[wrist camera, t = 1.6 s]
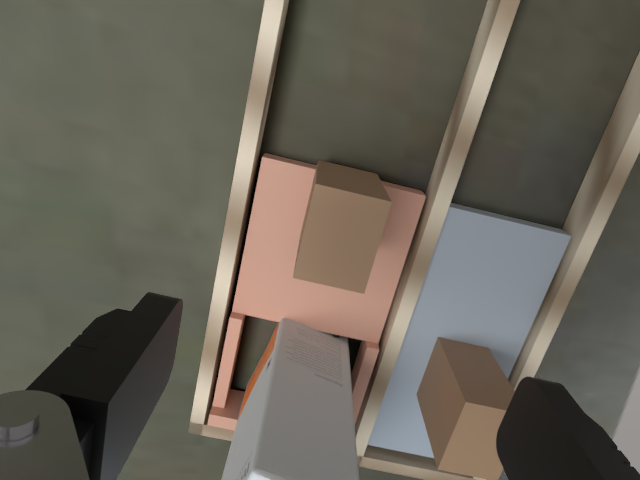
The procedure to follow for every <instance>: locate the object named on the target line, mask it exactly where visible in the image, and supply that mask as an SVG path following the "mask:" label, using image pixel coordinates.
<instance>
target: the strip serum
mask: <svg viewBox="0 0 640 480" xmlns="http://www.w3.org/2000/svg"><path fill="white" fill-rule="evenodd" d="M425 198H426V195H425V194H424V193H423V192H422V191H421V190H417V189H413V188H409V187H405V186H401V185H396V184H392V183H388V182H384V181H381V180H380V179H379V177H378V175H377V174H375V173H371V172H367V171H363V170H359V169H355V168H351V167H346V166H342V165H338V164H334V163H330V162H326V161H322V160H318V162H317V165H313V164H309V163H305V162H301V161H297V160H293V159H288V158H284V157H280V156H276V155H272V154H268V153H265V154H264V155H263V156H262V160H261V165H260V170H259V175H258V181H257V186H256V191H255V196H254V201H253V206H252V211H251V216H250V221H249V227H248V232H247V237H246V242H245V247H244V252H243V257H242V262H241V267H240V272H239V278H238V283H237V288H236V293H235V298H234V303H233V308H232V313H231V315H230V318H229V323H228V328H227V333H226V338H225V343H224V348H223V354H222V359H221V364H220V369H219V374H218V379H217V384H216V390H215V395H214V400H213V405H212V408H211V411H210V414H209V419H208V424H207V425H208V426H213V427H218V428H223V429H228V430H233V431H235V428H236V424H237V420H238V417H239V413H240V409H241V405H242V402H243V398H244V395H245V392H244V391H239V390H234V389H230V388H231V383H232V378H233V373H234V368H235V364H236V359H237V354H238V349H239V344H240V340H241V335H242V330H243V325H244V320H245V315H248V316H253V317H257V318H262V319H267V320H271V321H276V322H280V321H281V319H282V318H287V319H290V320H292V321H295V322H297V323H300V324H303V325H305V326H308V327H310V328H313V329H315V330H317V331H322V332H326V333H331V334H336V335H340V336H345V337H349V338H354V339H359V340H361V344H360V347H359V350H358V353H357V357H356V360H355V363H354V366H353V370H352V373H351V385H352V398H353V411H354V423H356V420H357V417H358V414H359V411H360V408H361V405H362V402H363V398H364V395H365V392H366V389H367V386H368V383H369V380H370V377H371V374H372V371H373V368H374V365H375V362H376V359H377V356H378V353H379V345H378V343H379V340H380V337H381V334H382V331H383V328H384V325H385V322H386V318H387V315H388V312H389V309H390V306H391V303H392V300H393V297H394V294H395V291H396V288H397V285H398V281H399V278H400V275H401V272H402V269H403V266H404V263H405V260H406V257H407V254H408V251H409V248H410V244H411V241H412V238H413V235H414V232H415V229H416V226H417V223H418V220H419V217H420V214H421V211H422V207H423V204H424V201H425Z"/></svg>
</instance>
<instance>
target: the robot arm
mask: <svg viewBox="0 0 640 480" xmlns="http://www.w3.org/2000/svg"><path fill="white" fill-rule="evenodd" d="M182 308H183V301H182V299H178V298H173V297H169V296H164V295H160V294H155V293H151V292H148V293H147V294H146V295H145V296H144V297H143V298H142V299H141V301H140V302H139V303H138V304H137V305H136V306H135V307H134V309H133V310H132V311H127V310H122V309H118V308H117V309H115V310H113V311H111V312H109V313H106V314H104V315H102V316H100V317H98V318H96V319H95V320H94V321H93V322H92V323H91V324H90V325H89V326H88V327H87V328H86V329H85V330H84V331H83V333H82V335H79V336H78V337H77V338H76V339H75V340H74V341H73V342H72V343H71V346H70V347H67V348H66V349H65V350H64V351H63V352H62V353H61V354H60V355H59V356H58V357H57V358H56V359H55V360H54V361H53V362H52V363H51V364H50V365H49V366H48V367H47V368H46V370H45V371H44V372H43V373H42V374H41V375H40V376H39V377H38V378H37V379H36V380H35V381H34V382H33V383H32V384H31V385H30V386H29V387H28V388H27V389H26V390H23V391H14V392H9V393H4V394H1V395H0V480H116V479H117V477H118V475H119V473H120V471H121V469H122V467H123V466H124V464H125V462H126V460H127V458H128V456H129V454H130V452H131V451H132V449H133V447H134V445H135V443H136V441H137V439H138V437H139V436H140V434H141V432H142V430H143V428H144V426H145V424H146V422H147V421H148V419H149V417H150V415H151V413H152V411H153V409H154V408H155V406H156V404H157V402H158V400H159V398H160V396H161V394H162V393H163V391H164V389H165V387H166V385H167V382H168V380H169V377H170V374H171V371H172V367H173V364H174V359H175V353H176V346H177V340H178V334H179V328H180V321H181V315H182ZM496 449H497V454H498V457H499V460H500V462H501V464H502V466H503V468H504V470H505V473H506V475H507V477H508V479H509V480H640V474H639V473H638V472H637V471H636V469H635V468H634V467H631V466H630V462H629V461H628V459H627V458H626V457H625V456H624V454H623V453H622V452H621V451H619V450H617V446H616V444H615V443H614V442H613V441H612V439H611V438H610V437H609V436H608V434H607V433H606V432H605V431H604V429H603V428H602V427H601V426H599V425H598V424H597V423H596V422H595V421H594V420H592V419H591V418H590V417H589V416H588V415H586V414H585V413H584V412H583V410H582V409H581V408H580V406H579V405H578V404H577V403H576V401H575V400H574V399H573V398H572V396H571V395H570V394H569V392H568V391H567V390H566V389H565V387H564V386H563V385H561V384H559V383H556V382H551V381H547V380H542V379H538V378H533V377H525V378H523V379H522V380H521V381H520V382H519V384H518V386H517V388H516V391H515V393H514V395H513V397H512V399H511V402H510V404H509V406H508V408H507V410H506V413H505V415H504V417H503V419H502V422H501V424H500V426H499V428H498V432H497V437H496Z"/></svg>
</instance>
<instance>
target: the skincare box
mask: <svg viewBox="0 0 640 480" xmlns="http://www.w3.org/2000/svg"><path fill="white" fill-rule="evenodd" d="M222 480H359V472H358V460H357V449H356V437H355V423H354V411H353V398H352V385H351V371H350V358H349V346H348V337H345V336H340V335H336V334H331V333H326V332H322V331H317V330H315V329H313V328H310V327H308V326H305V325H303V324H300V323H297V322H295V321H292V320H290V319H287V318H282V319H281V321H280V322H278V323H277V326H276V328H275V330H274V332H273V334H272V336H271V338H270V341H269V343H268V345H267V347H266V349H265V351H264V353H263V355H262V357H261V359H260V361H259V363H258V364H257V366H256V368H255V370H254V372H253V374H252V376H251V378H250V380H249V382H248V384H247V387H246V391H245V395H244V398H243V402H242V405H241V409H240V413H239V417H238V420H237V424H236V428H235V431H234V435H233V439H232V443H231V446H230V450H229V454H228V457H227V461H226V465H225V468H224V472H223V476H222Z"/></svg>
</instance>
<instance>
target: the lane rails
mask: <svg viewBox="0 0 640 480" xmlns="http://www.w3.org/2000/svg"><path fill="white" fill-rule="evenodd" d="M519 3H520V0H488V1H487V4H486V8H485V11H484V14H483V17H482V20H481V23H480V26H479V29H478V32H477V35H476V38H475V42H474V45H473V48H472V51H471V54H470V57H469V60H468V63H467V66H466V69H465V73H464V76H463V79H462V82H461V85H460V88H459V91H458V94H457V97H456V100H455V104H454V107H453V110H452V113H451V116H450V119H449V122H448V125H447V128H446V131H445V134H444V138H443V141H442V144H441V147H440V150H439V153H438V156H437V159H436V162H435V165H434V169H433V172H432V175H431V178H430V181H429V184H428V187H427V190H426V193H425V195H426V198H425V201H424V204H423V207H422V211H421V214H420V217H419V220H418V223H417V226H416V229H415V232H414V235H413V238H412V241H411V244H410V248H409V251H408V254H407V257H406V260H405V263H404V266H403V269H402V272H401V275H400V278H399V281H398V285H397V288H396V291H395V294H394V297H393V300H392V303H391V306H390V309H389V312H388V315H387V318H386V322H385V325H384V328H383V331H382V334H381V337H380V340H379V343H378V345H379V353H378V356H377V359H376V362H375V365H374V368H373V371H372V374H371V377H370V380H369V383H368V386H367V389H366V392H365V395H364V398H363V402H362V405H361V408H360V411H359V414H358V417H357V420H356V423H355V437H356V449H357V460H358V466H359V467H364V468H369V469H374V470H379V471H384V472H389V473H394V474H399V475H404V476H409V477H414V478H419V479H424V480H486V479H482V478H477V477H473V476H468V475H463V474H458V473H453V472H448V471H443V470H438V469H437V466H436V462H435V459H434V458H430V457H425V456H420V455H415V454H410V453H405V452H400V451H395V450H390V449H386V448H381V447H376V446H371V445H367V444H368V441H369V438H370V435H371V433H372V430H373V427H374V424H375V421H376V418H377V415H378V412H379V409H380V406H381V403H382V401H383V398H384V395H385V392H386V389H387V386H388V383H389V380H390V377H391V374H392V372H393V369H394V366H395V363H396V360H397V357H398V354H399V351H400V348H401V345H402V342H403V340H404V337H405V334H406V331H407V328H408V325H409V322H410V319H411V316H412V313H413V311H414V308H415V305H416V302H417V299H418V296H419V293H420V290H421V287H422V284H423V281H424V279H425V276H426V273H427V270H428V267H429V264H430V261H431V258H432V255H433V252H434V250H435V247H436V244H437V241H438V238H439V235H440V232H441V229H442V226H443V223H444V220H445V218H446V215H447V212H448V209H449V206H450V203H451V200H452V197H453V194H454V191H455V189H456V186H457V183H458V180H459V177H460V174H461V171H462V168H463V165H464V162H465V159H466V157H467V154H468V151H469V148H470V145H471V142H472V139H473V136H474V133H475V130H476V127H477V125H478V122H479V119H480V116H481V113H482V110H483V107H484V104H485V101H486V98H487V96H488V93H489V90H490V87H491V84H492V81H493V78H494V75H495V72H496V69H497V66H498V64H499V61H500V58H501V55H502V52H503V49H504V46H505V43H506V40H507V37H508V35H509V32H510V29H511V26H512V23H513V20H514V17H515V14H516V11H517V8H518V5H519ZM288 4H289V0H265V3H264V9H263V15H262V20H261V26H260V32H259V37H258V43H257V48H256V54H255V60H254V65H253V71H252V77H251V82H250V88H249V93H248V99H247V105H246V110H245V116H244V122H243V127H242V133H241V138H240V144H239V150H238V155H237V161H236V167H235V172H234V178H233V183H232V189H231V195H230V200H229V206H228V212H227V217H226V223H225V228H224V234H223V240H222V245H221V251H220V257H219V262H218V268H217V273H216V279H215V285H214V290H213V296H212V302H211V307H210V313H209V318H208V324H207V330H206V335H205V341H204V347H203V352H202V358H201V363H200V369H199V375H198V380H197V386H196V392H195V397H194V403H193V408H192V414H191V420H190V425H189V431H188V433H193V434H198V435H203V436H208V437H213V438H218V439H223V440H228V441H232V439H233V435H234V431H233V430H228V429H223V428H218V427H213V426H208V425H207V424H208V419H209V414H210V411H211V408H212V405H213V402H212V397H213V392H214V387H215V382H216V376H217V371H218V366H219V361H220V356H221V351H222V345H223V340H224V335H225V330H226V325H227V320H228V314H229V309H230V304H231V299H232V294H233V289H234V283H235V278H236V273H237V268H238V263H239V258H240V252H241V247H242V242H243V237H244V232H245V227H246V221H247V216H248V211H249V206H250V201H251V196H252V190H253V185H254V180H255V175H256V170H257V165H258V159H259V154H260V149H261V144H262V139H263V134H264V128H265V123H266V118H267V113H268V108H269V103H270V97H271V92H272V87H273V82H274V77H275V72H276V66H277V61H278V56H279V51H280V46H281V41H282V35H283V30H284V25H285V20H286V15H287V10H288ZM639 152H640V51H639V54H638V56H637V58H636V60H635V63H634V65H633V67H632V70H631V72H630V74H629V77H628V79H627V81H626V83H625V86H624V88H623V90H622V93H621V95H620V97H619V99H618V102H617V104H616V106H615V109H614V111H613V113H612V115H611V118H610V120H609V122H608V125H607V127H606V129H605V132H604V134H603V136H602V138H601V141H600V143H599V145H598V148H597V150H596V152H595V154H594V157H593V159H592V161H591V164H590V166H589V168H588V170H587V173H586V175H585V177H584V180H583V182H582V184H581V186H580V189H579V191H578V193H577V196H576V198H575V200H574V203H573V205H572V207H571V209H570V212H569V214H568V216H567V219H566V221H565V223H564V225H563V228H562V230H563V231H564V232H566V233H568V234H569V235H571V239H570V241H569V243H568V245H567V248H566V250H565V252H564V254H563V257H562V259H561V261H560V263H559V265H558V268H557V270H556V272H555V274H554V277H553V279H552V281H551V283H550V286H549V288H548V290H547V292H546V295H545V297H544V299H543V301H542V304H541V306H540V308H539V310H538V313H537V315H536V317H535V319H534V322H533V324H532V326H531V328H530V330H529V333H528V335H527V337H526V339H525V342H524V344H523V346H522V348H521V351H520V353H519V355H518V357H517V360H516V362H515V364H514V366H513V369H512V371H511V373H510V375H509V378H508V381H509V383H510V384H511V386H512V388H513V389H514V391H516V388H517V386H518V384H519V382H520V381H521V380H522V379H523V378H525V377H533V378H534V376H535V374H536V372H537V370H538V368H539V366H540V363H541V361H542V359H543V357H544V355H545V353H546V351H547V348H548V346H549V344H550V342H551V340H552V338H553V336H554V333H555V331H556V329H557V327H558V325H559V323H560V321H561V319H562V316H563V314H564V312H565V310H566V308H567V306H568V304H569V301H570V299H571V297H572V295H573V293H574V291H575V289H576V287H577V284H578V282H579V280H580V278H581V276H582V274H583V272H584V269H585V267H586V265H587V263H588V261H589V259H590V257H591V254H592V252H593V250H594V248H595V246H596V244H597V242H598V240H599V237H600V235H601V233H602V231H603V229H604V227H605V225H606V222H607V220H608V218H609V216H610V214H611V212H612V210H613V207H614V205H615V203H616V201H617V199H618V197H619V195H620V193H621V190H622V188H623V186H624V184H625V182H626V180H627V178H628V175H629V173H630V171H631V169H632V167H633V165H634V163H635V161H636V158H637V156H638V154H639Z"/></svg>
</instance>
